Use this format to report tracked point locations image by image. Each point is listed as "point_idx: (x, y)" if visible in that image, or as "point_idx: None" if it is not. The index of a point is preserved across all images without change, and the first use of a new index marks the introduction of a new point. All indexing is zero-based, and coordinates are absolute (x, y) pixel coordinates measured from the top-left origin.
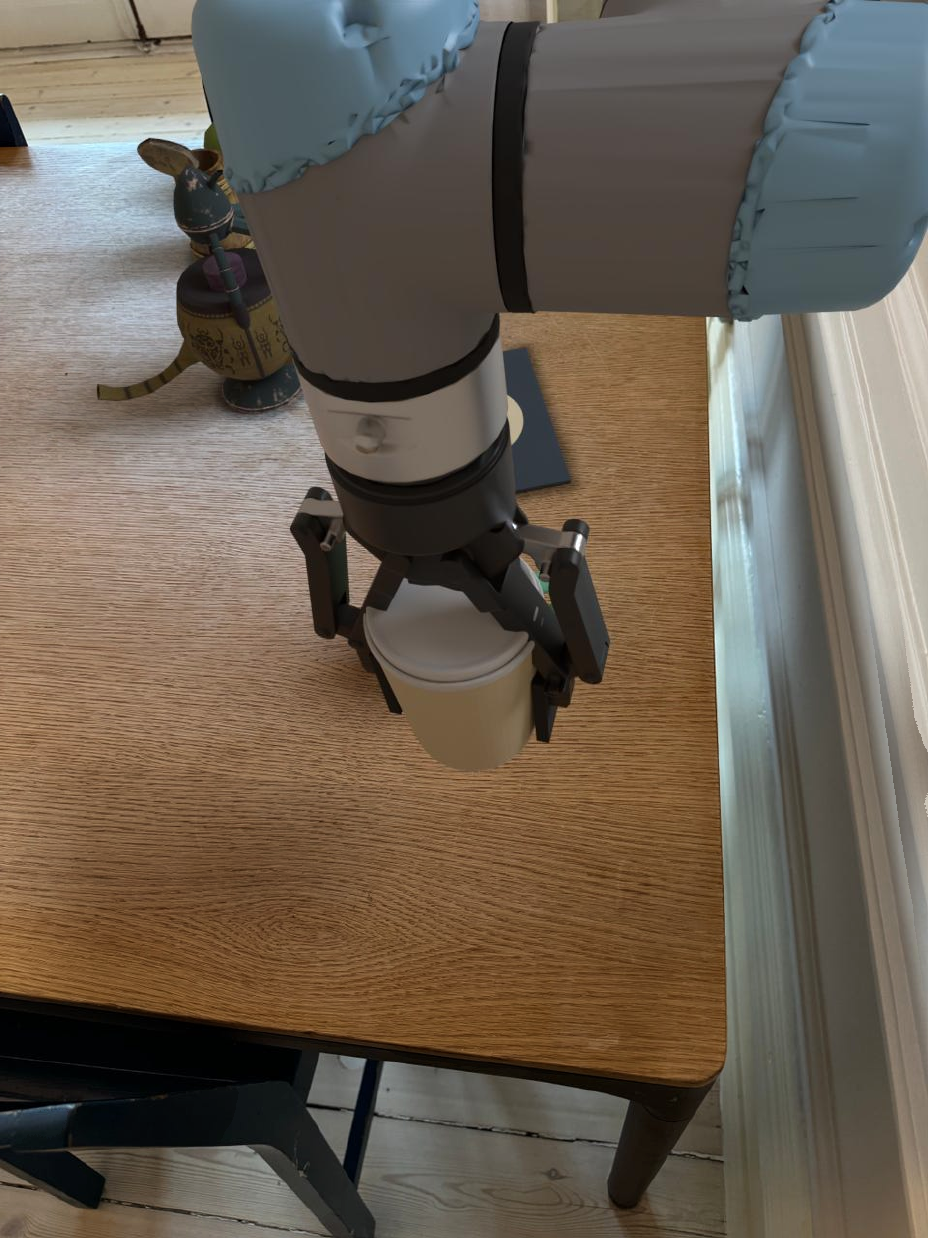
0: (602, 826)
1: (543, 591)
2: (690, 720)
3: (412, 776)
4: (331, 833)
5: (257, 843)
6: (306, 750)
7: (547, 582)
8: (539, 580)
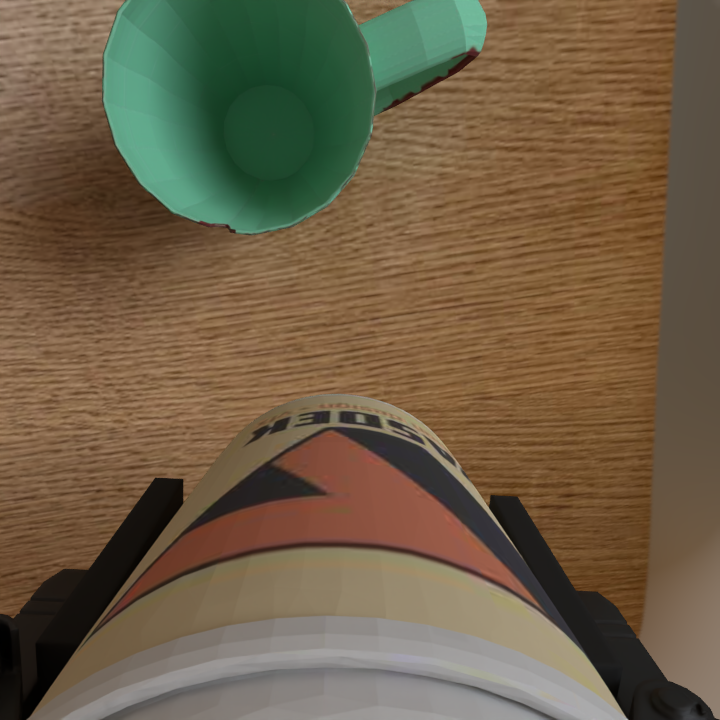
0: (508, 429)
1: (406, 76)
2: (639, 236)
3: (213, 401)
4: (121, 504)
5: (18, 536)
6: (25, 386)
7: (415, 52)
8: (394, 46)
